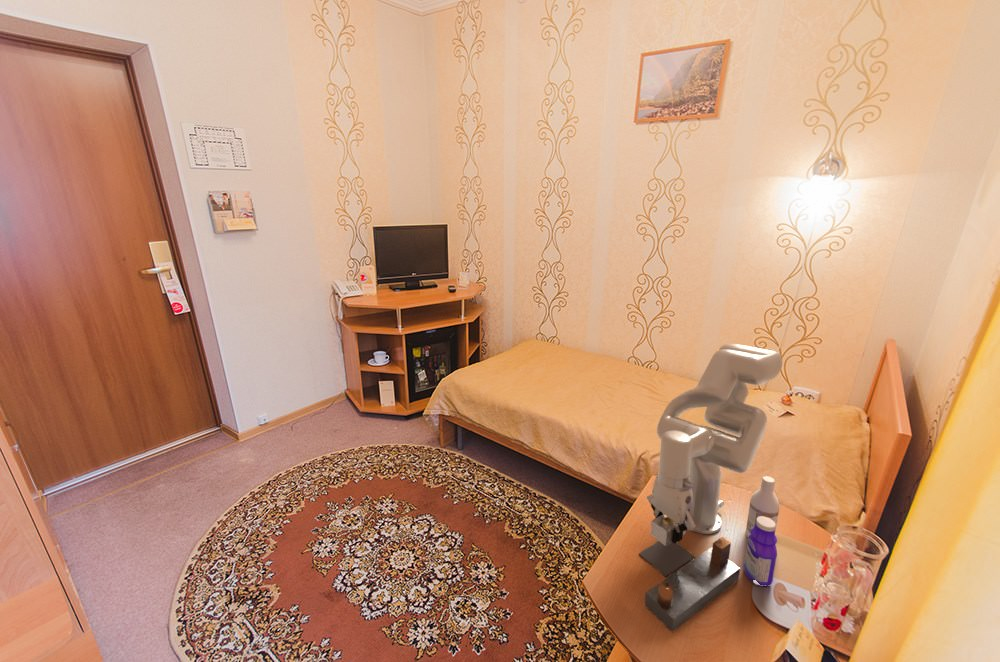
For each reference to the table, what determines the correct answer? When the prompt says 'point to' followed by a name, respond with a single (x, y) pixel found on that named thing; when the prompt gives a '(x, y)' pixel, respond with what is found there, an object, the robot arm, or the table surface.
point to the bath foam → (763, 504)
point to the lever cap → (663, 529)
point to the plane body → (693, 586)
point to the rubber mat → (666, 557)
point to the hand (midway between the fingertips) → (668, 533)
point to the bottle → (761, 552)
